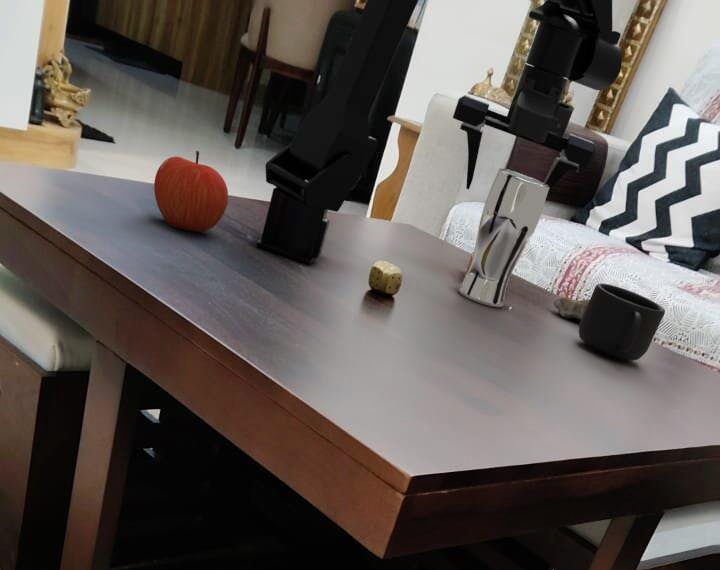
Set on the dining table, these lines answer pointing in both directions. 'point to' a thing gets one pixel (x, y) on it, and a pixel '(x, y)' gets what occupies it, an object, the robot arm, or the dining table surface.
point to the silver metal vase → (503, 235)
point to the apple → (190, 194)
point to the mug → (619, 323)
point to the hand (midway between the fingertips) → (500, 200)
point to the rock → (571, 307)
